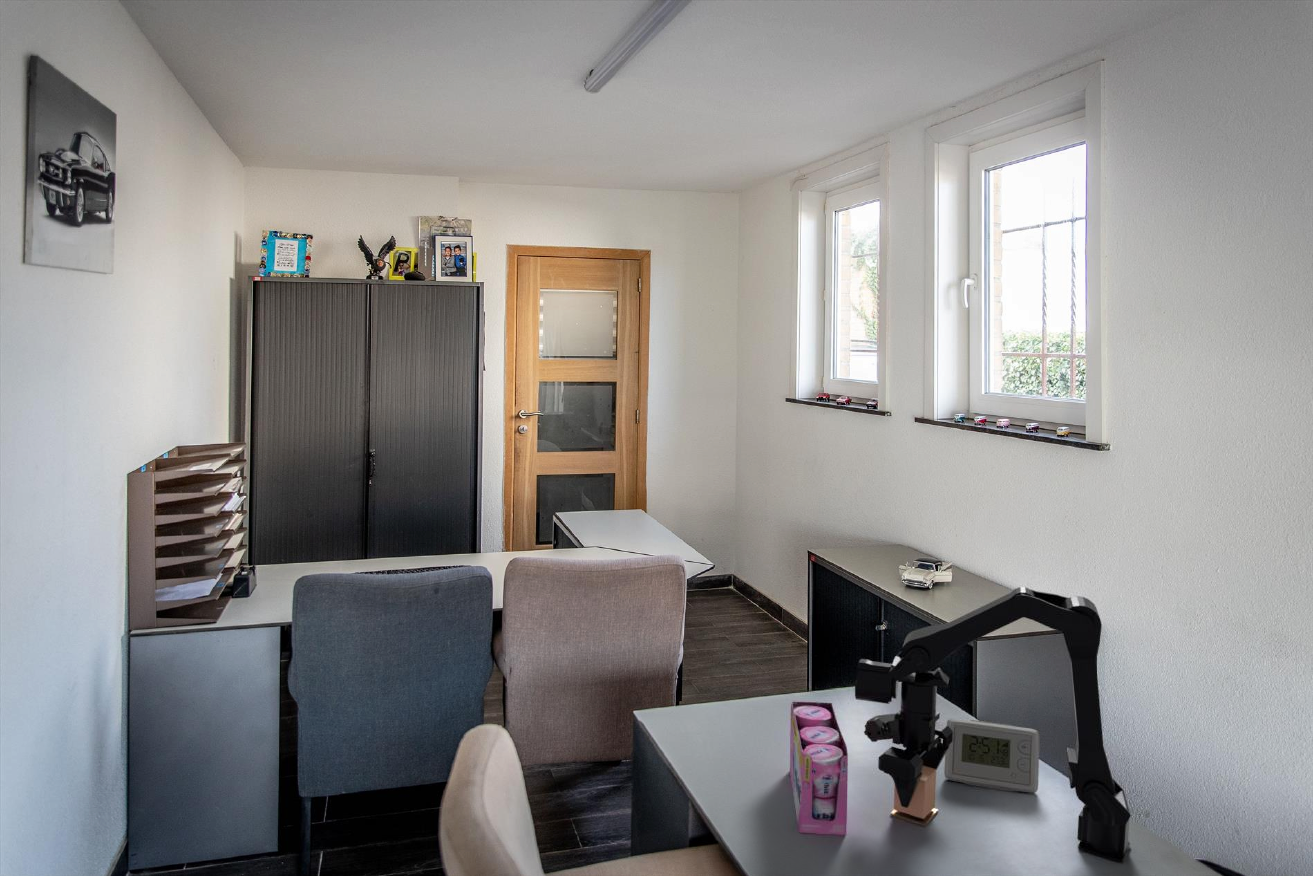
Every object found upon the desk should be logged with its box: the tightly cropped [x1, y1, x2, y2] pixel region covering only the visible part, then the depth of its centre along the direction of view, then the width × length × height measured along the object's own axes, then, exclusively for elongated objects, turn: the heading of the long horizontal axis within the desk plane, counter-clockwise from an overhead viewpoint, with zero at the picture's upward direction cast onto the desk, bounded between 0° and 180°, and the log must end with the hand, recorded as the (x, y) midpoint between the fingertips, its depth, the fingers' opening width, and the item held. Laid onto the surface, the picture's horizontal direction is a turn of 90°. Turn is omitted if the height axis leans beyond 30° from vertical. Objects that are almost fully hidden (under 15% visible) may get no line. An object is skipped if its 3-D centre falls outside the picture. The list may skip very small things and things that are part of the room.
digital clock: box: [943, 718, 1040, 794], centre depth 167 cm, size 16×9×11 cm, turn 59°
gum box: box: [789, 701, 849, 836], centre depth 159 cm, size 24×8×14 cm, turn 176°
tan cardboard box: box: [893, 766, 937, 819], centre depth 155 cm, size 5×5×7 cm
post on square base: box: [889, 807, 939, 828], centre depth 155 cm, size 6×6×7 cm
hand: (915, 796), depth 155 cm, fingers open, 9 cm apart
